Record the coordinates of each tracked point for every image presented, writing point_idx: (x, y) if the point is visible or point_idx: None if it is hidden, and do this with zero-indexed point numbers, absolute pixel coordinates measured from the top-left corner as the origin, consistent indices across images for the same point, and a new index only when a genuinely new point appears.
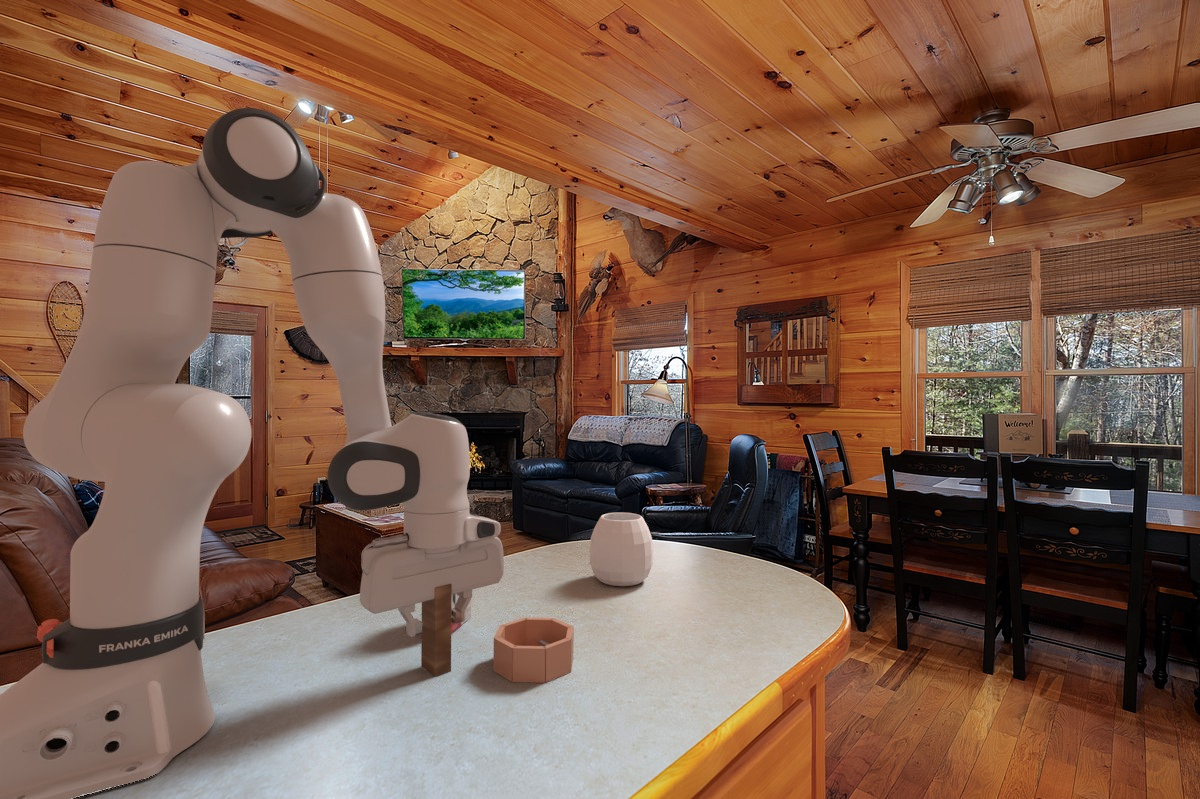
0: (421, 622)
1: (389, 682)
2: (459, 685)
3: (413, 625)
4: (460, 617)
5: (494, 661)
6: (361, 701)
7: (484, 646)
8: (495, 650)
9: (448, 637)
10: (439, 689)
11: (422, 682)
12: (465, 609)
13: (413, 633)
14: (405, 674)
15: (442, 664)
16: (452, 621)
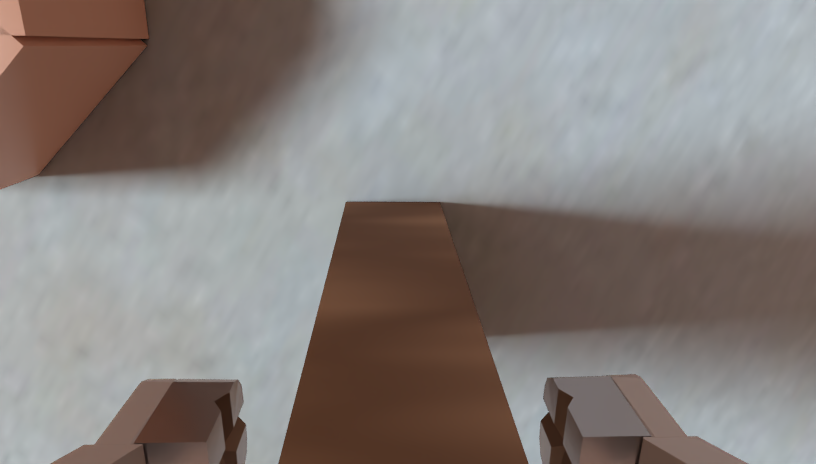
0: (588, 435)
1: (620, 297)
2: (391, 23)
3: (672, 425)
4: (173, 400)
5: (121, 27)
6: (801, 217)
7: (63, 335)
8: (76, 14)
9: (352, 276)
10: (493, 62)
11: (514, 193)
12: (83, 447)
13: (633, 383)
14: (528, 319)
15: (398, 217)
16: (238, 427)
